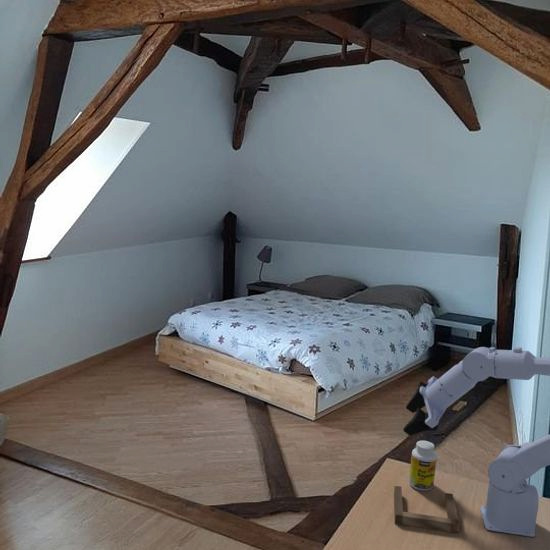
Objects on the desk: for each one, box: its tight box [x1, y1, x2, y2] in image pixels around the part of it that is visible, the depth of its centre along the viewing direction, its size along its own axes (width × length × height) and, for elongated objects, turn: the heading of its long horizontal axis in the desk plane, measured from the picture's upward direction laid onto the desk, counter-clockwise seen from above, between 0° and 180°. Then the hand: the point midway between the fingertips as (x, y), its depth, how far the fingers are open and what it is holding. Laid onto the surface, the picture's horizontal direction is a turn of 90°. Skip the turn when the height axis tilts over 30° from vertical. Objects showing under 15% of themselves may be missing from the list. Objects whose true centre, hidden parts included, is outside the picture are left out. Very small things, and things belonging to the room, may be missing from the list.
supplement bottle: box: [408, 440, 438, 492], centre depth 131 cm, size 6×6×10 cm
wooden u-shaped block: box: [393, 485, 460, 534], centre depth 121 cm, size 12×11×2 cm
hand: (408, 420), depth 130 cm, fingers open, 7 cm apart
